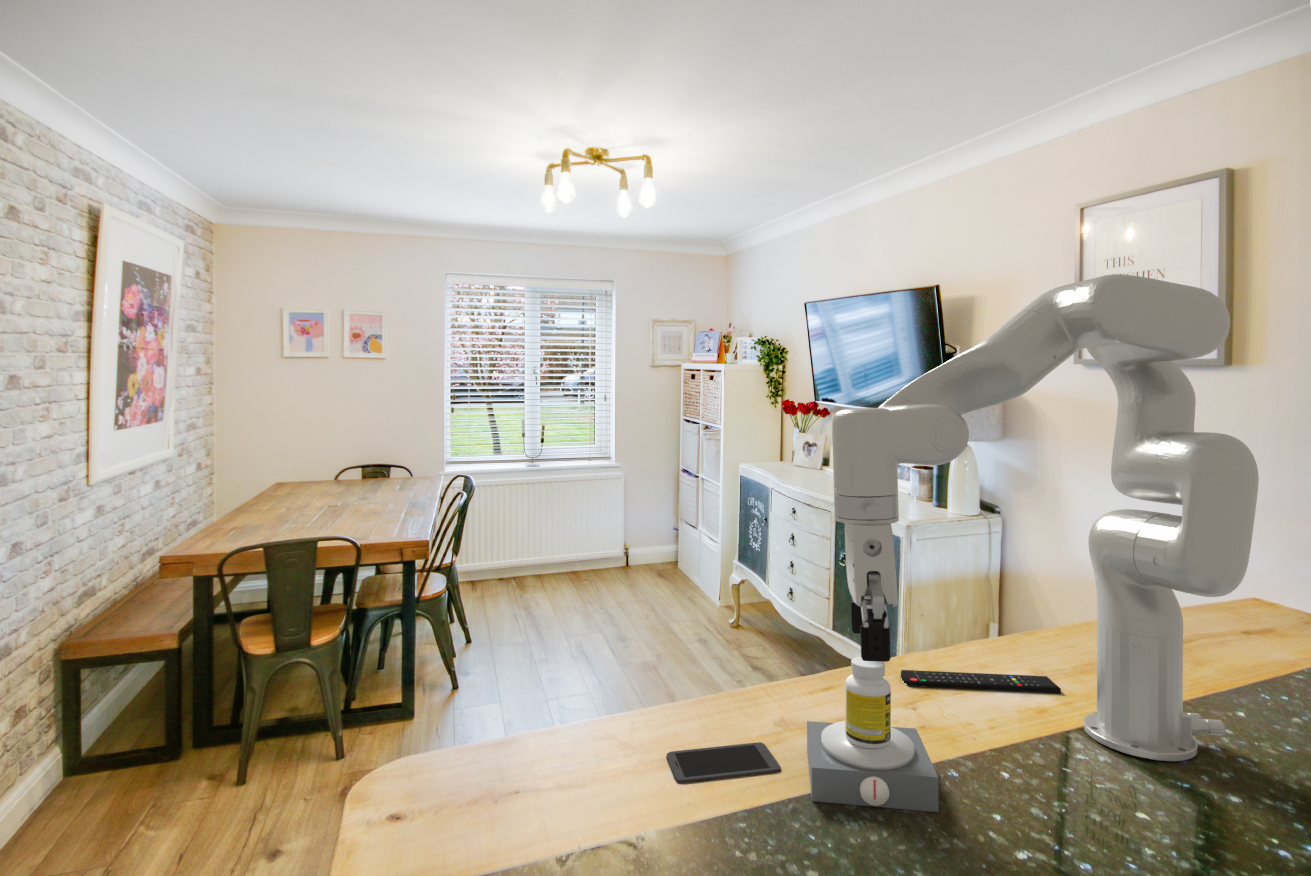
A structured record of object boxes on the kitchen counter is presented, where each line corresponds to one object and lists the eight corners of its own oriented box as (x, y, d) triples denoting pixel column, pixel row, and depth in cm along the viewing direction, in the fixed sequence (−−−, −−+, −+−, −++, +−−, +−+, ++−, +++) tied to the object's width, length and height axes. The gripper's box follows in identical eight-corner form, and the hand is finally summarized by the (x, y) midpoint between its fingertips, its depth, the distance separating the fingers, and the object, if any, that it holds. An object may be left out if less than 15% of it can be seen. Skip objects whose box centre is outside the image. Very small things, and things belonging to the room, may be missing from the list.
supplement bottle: (894, 752, 79) (893, 670, 78) (847, 748, 80) (846, 668, 79) (887, 731, 84) (887, 655, 84) (843, 727, 85) (843, 652, 85)
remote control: (1060, 696, 106) (1060, 688, 106) (904, 689, 110) (904, 681, 110) (1046, 684, 111) (1046, 676, 111) (898, 677, 115) (898, 669, 115)
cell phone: (783, 774, 84) (783, 768, 84) (676, 786, 81) (676, 780, 81) (763, 746, 91) (763, 741, 91) (664, 756, 88) (664, 751, 88)
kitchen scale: (916, 758, 86) (916, 722, 86) (939, 815, 74) (939, 773, 74) (807, 750, 89) (806, 715, 89) (812, 803, 76) (811, 763, 76)
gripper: (912, 519, 72) (916, 674, 72) (886, 498, 89) (889, 624, 89) (841, 519, 73) (845, 671, 74) (829, 499, 90) (832, 623, 91)
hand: (869, 645), depth 81 cm, fingers open, 9 cm apart
